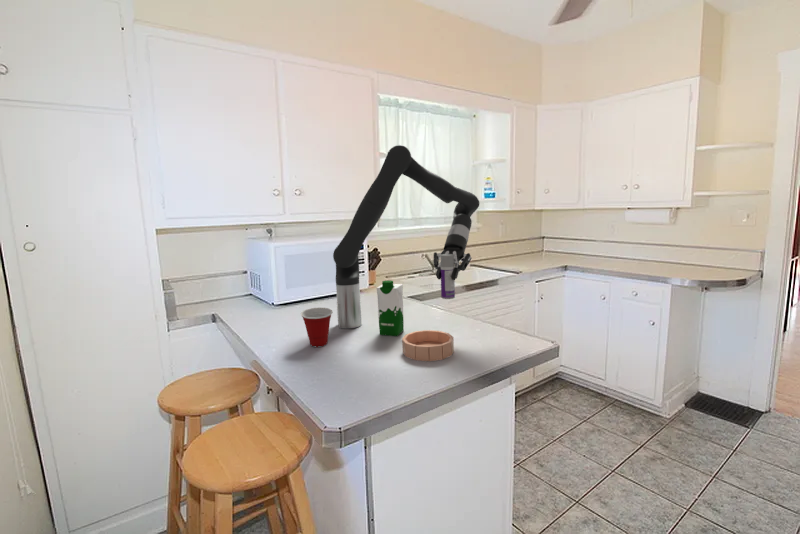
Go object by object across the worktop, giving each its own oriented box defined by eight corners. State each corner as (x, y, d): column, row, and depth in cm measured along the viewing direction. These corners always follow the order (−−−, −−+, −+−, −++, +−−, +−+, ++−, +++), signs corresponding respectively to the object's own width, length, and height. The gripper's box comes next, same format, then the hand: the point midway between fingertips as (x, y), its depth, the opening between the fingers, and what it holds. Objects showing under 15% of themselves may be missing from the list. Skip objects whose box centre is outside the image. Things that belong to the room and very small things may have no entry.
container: (440, 296, 142) (439, 254, 139) (453, 295, 142) (452, 253, 140) (442, 299, 137) (441, 256, 135) (456, 298, 138) (455, 255, 135)
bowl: (410, 363, 120) (410, 349, 120) (398, 346, 136) (397, 333, 135) (460, 357, 124) (460, 343, 123) (443, 340, 139) (443, 328, 139)
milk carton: (376, 335, 148) (373, 282, 145) (385, 328, 156) (383, 277, 153) (399, 337, 145) (396, 283, 142) (406, 329, 153) (404, 278, 150)
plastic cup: (307, 352, 133) (305, 317, 132) (299, 343, 143) (297, 310, 141) (338, 346, 138) (336, 312, 137) (329, 337, 148) (327, 305, 146)
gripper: (435, 233, 146) (423, 271, 137) (473, 233, 139) (463, 273, 131) (441, 246, 152) (429, 283, 143) (478, 246, 145) (468, 286, 136)
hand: (445, 278), depth 137 cm, fingers closed on container, 4 cm apart
